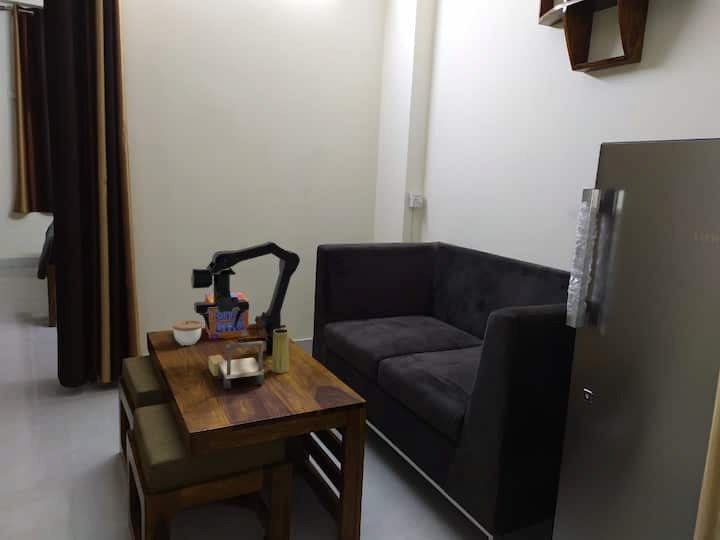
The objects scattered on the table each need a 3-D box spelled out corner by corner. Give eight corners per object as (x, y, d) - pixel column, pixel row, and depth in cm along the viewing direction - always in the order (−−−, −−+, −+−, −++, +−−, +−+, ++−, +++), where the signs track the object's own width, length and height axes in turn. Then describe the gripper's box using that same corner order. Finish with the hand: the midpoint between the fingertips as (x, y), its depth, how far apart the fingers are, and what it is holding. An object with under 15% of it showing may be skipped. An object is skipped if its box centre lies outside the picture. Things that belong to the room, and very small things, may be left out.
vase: (292, 370, 187) (293, 331, 184) (278, 374, 182) (279, 334, 180) (281, 365, 191) (282, 327, 188) (267, 369, 187) (268, 330, 184)
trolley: (253, 372, 184) (253, 330, 181) (263, 386, 172) (264, 341, 170) (217, 376, 179) (217, 333, 176) (226, 391, 167) (226, 345, 164)
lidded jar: (181, 338, 217) (180, 315, 215) (206, 340, 215) (206, 317, 214) (168, 346, 206) (167, 322, 205) (194, 348, 205) (194, 325, 203)
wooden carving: (247, 341, 217) (247, 317, 215) (245, 337, 221) (245, 314, 219) (287, 338, 223) (287, 315, 221) (284, 335, 227) (285, 312, 225)
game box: (204, 329, 230) (204, 293, 227) (241, 326, 236) (241, 292, 233) (210, 340, 216) (209, 302, 213) (248, 336, 222) (248, 300, 219)
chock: (220, 367, 188) (220, 354, 187) (226, 375, 181) (226, 362, 180) (208, 368, 186) (208, 356, 185) (214, 376, 179) (214, 363, 178)
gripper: (198, 293, 180) (199, 337, 183) (253, 290, 188) (252, 333, 191) (193, 286, 190) (193, 328, 193) (245, 283, 198) (245, 324, 201)
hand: (221, 329), depth 194 cm, fingers open, 9 cm apart
